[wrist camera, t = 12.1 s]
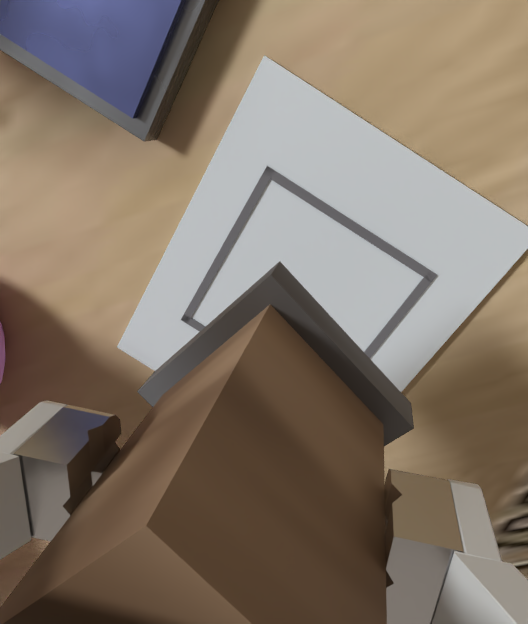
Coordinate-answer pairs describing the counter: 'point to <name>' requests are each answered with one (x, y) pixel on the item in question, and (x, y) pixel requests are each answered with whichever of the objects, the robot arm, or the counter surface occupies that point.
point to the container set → (2, 352)
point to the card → (327, 232)
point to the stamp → (237, 484)
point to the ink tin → (110, 52)
